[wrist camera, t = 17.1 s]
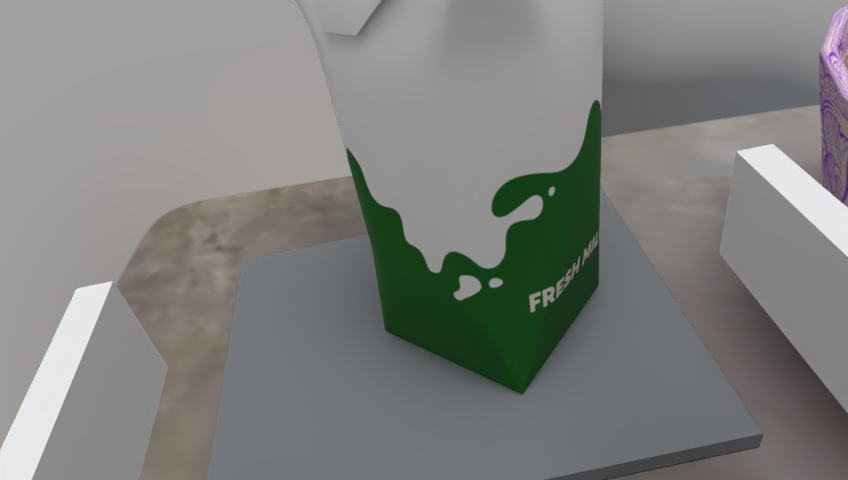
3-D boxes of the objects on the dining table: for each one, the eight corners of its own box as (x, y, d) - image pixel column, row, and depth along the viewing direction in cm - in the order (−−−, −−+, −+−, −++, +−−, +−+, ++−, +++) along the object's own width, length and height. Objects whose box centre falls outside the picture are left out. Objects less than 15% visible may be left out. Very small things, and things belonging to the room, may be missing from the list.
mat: (600, 197, 35) (600, 185, 34) (759, 446, 22) (763, 433, 21) (246, 271, 35) (241, 260, 34) (203, 564, 22) (194, 553, 21)
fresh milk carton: (532, 423, 23) (470, -250, 11) (354, 336, 28) (175, -194, 16) (627, 279, 28) (659, -295, 16) (462, 227, 33) (389, -242, 21)
